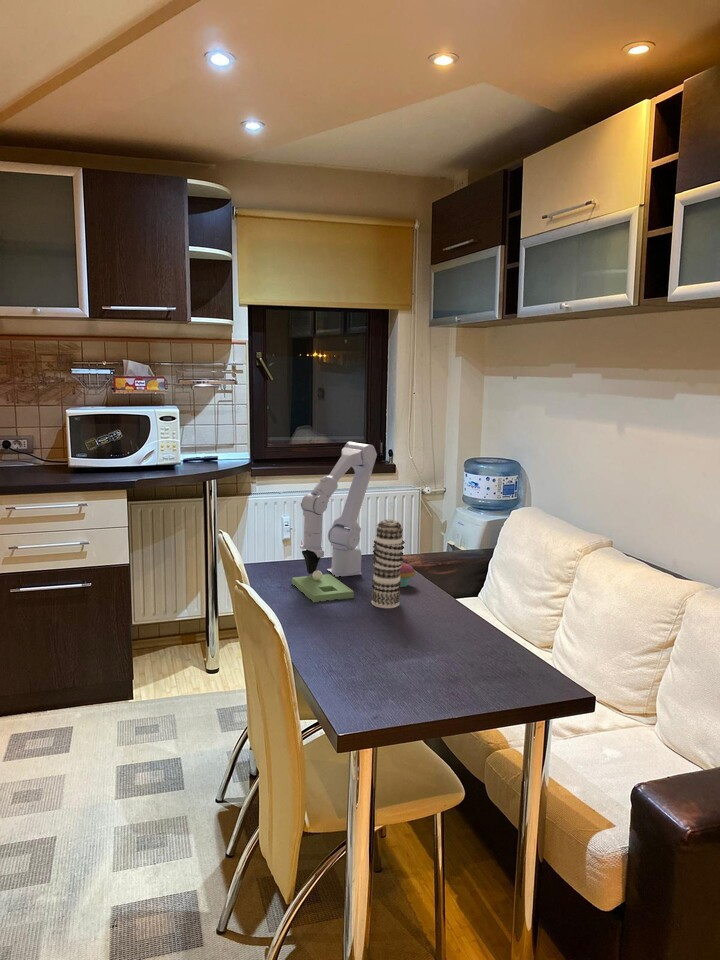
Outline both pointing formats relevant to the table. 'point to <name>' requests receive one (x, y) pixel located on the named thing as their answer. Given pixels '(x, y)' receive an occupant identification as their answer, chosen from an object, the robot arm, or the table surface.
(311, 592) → the putting mat
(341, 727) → the table surface
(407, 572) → the cupcake
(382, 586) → the cream and black cylinder
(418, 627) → the table surface
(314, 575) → the ball
